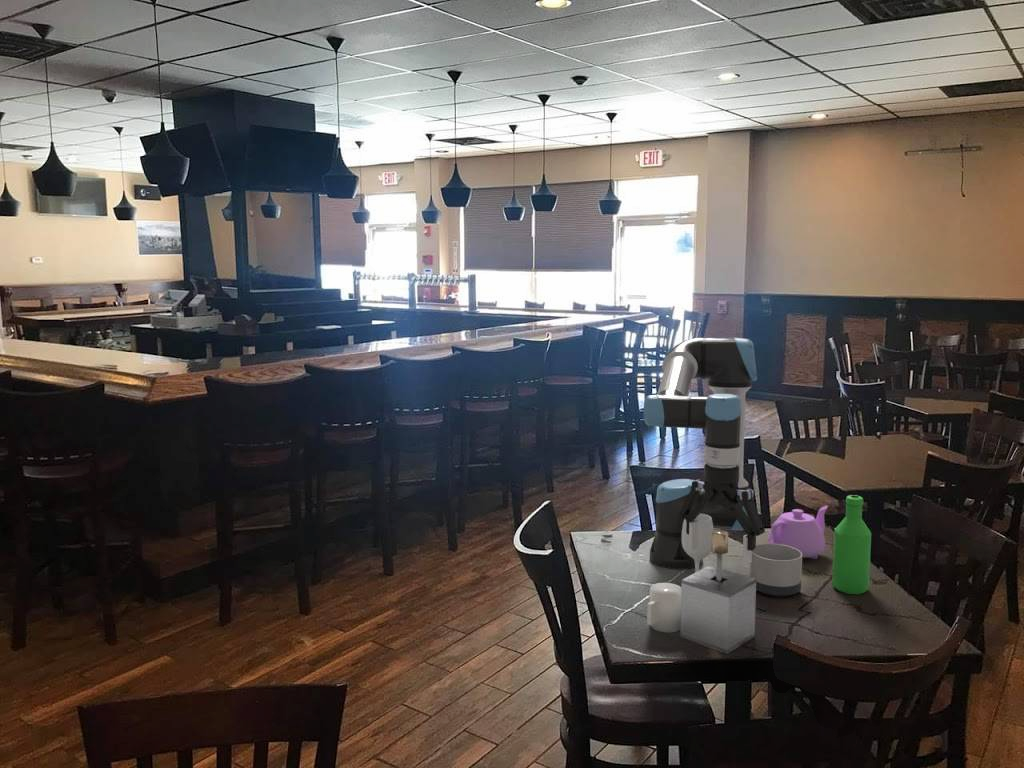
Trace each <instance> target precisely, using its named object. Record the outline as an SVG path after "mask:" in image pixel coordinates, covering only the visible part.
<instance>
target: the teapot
mask: <svg viewBox="0 0 1024 768" xmlns="http://www.w3.org/2000/svg"><path fill="white" fill-rule="evenodd" d="M828 508H829V506H828V505H823V506H821V507H820V508H819V509H818V512H817V515H816V518H815V517H814V516H813V515H811V514H809V513H804V510H803V509H801V508H800V509H799V508H796V509H792V510H791V511H790V512H784V513H781V514H780V515H779V517H778V518H777V519H776V520H775V521H774V523H773V524H772V525H771V529H770V531H769V534H768V544H781V545H786V546H790V547H793V548H796V549H798V550H799V551H800V552H801V553H802V559H803V558H809V559H811V558H812V559H813V560H818V559H819V556H818V555H820V554H821V553H822V552H823V551H824V550H825V547H826V540H825V534H824V532H825V527H826V526H825V525H826V524H825V512H826V510H827V509H828ZM817 558H818V559H817Z"/></svg>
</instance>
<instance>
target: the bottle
mask: <svg viewBox="0 0 1024 768" xmlns="http://www.w3.org/2000/svg"><path fill="white" fill-rule="evenodd" d="M845 503H846V504H845V517H843V519H842V520H841V521H840V523H839V524H838V525H837V526H836V527H835V529H834V531H833V532H834V538H833V555H832V556H833V558H832V559H833V560H832V579H831V580H832V581H831V582H832V586H833V587H834V588H835V589H836V590H838V591H839V592H841V593H844V594H848V595H862V594H863V593H865V592H868V591H869V587H870V586H869V585H870V570H871V569H870V568H871V553H872V552H871V547H872V532H871V530H870V529H869V528H868V526H867V524H866V523H865V521H864V520H863V505H864V498H863V497H862V496H859V495H857V494H854V495H853V494H850V495H847V496H846V499H845Z"/></svg>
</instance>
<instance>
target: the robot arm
mask: <svg viewBox="0 0 1024 768" xmlns="http://www.w3.org/2000/svg"><path fill="white" fill-rule="evenodd" d="M754 348H755V347H754V343H753V341H752V340H751V339H749V338H743V337H741V338H739V337H694V338H693V337H692V338H689V339H686V340H684V341H682V342H679V343H678V344H676V345H675V346H673V347H672V348H671V349H670V350H668V352H667V353H666V354H665V356H664V357H663V361H662V365H661V369H662V373H663V374H662V377H661V380H660V385H659V386H658V391H657V394H651V395H650V394H649V395H647V396H645V399H644V403H643V404H644V406H643V420H644V423H645V425H646V426H649V427H656V428H657V427H658V428H675V429H676V428H680V429H681V428H682V429H683V428H684V429H701V430H702V429H705V438H704V439H705V441H704V462H705V465H703V467H704V470H703V479H704V481H702V480H701V479H700V478H698V479H696V480H695V479H689V478H679V479H678V478H676V479H671V480H667V481H664V482H662V483H661V484H659V485H658V487H657V489H656V498H655V503H656V509H655V510H656V514H655V515H656V516H655V534H654V538H653V541H652V544H651V547H650V549H649V560H650V561H651V562H652V563H653V564H655V565H657V566H659V567H663V568H668V569H674V570H677V569H678V570H682V569H683V570H686V569H692V568H695V561H694V559H693V558H692V557H690V556H689V555H688V554H687V553H686V552H685V550H684V549H683V546H682V527H683V522H684V519H685V520H686V533H687V534H688V535H689V550H691V551H692V550H694V549H696V548H698V520H694V519H696V517H697V516H698V515H699V514H706V515H709V516H710V517H711V518H712V522H713V528H714V530H725V531H726V530H727V531H744V533H745V535H743V536H742V538H743V539H742V566H747V565H750V563H751V562H752V550H754V549H755V548H756V545H757V537H759V536H761V535H763V534H764V533H765V532H766V529H765V527H764V524H763V522H762V519H761V517H760V514H759V512H758V510H757V507H756V505H755V501H754V494H755V493H754V490H753V489H751V488H749V482H748V481H747V480H746V479H745V478H744V458H745V455H744V454H745V453H744V452H745V449H744V448H745V426H746V425H745V418H746V393H747V392H748V391H749V390H750V389H752V382H756V381H757V380H758V375H757V366H756V356H755V349H754ZM693 380H708V381H707V383H708V384H707V385H708V388H709V389H710V390H711V391H712V392H713V394H710V395H708V396H691V395H690V392H691V391H690V390H691V385H692V381H693ZM703 559H704V558H702V559H701V560H700V564H699V566H701V565H702V564H703V561H704V560H703Z"/></svg>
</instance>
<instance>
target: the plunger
mask: <svg viewBox="0 0 1024 768" xmlns="http://www.w3.org/2000/svg"><path fill="white" fill-rule="evenodd" d="M711 553H713V554H715V555H716V566H715V567H716V581H717V582H720V583H722V569H723V555H724V554H725V555H726V554H727V553H729V532H728V530H727V531H726V530H725V529H714V531H712V547H711Z"/></svg>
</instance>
